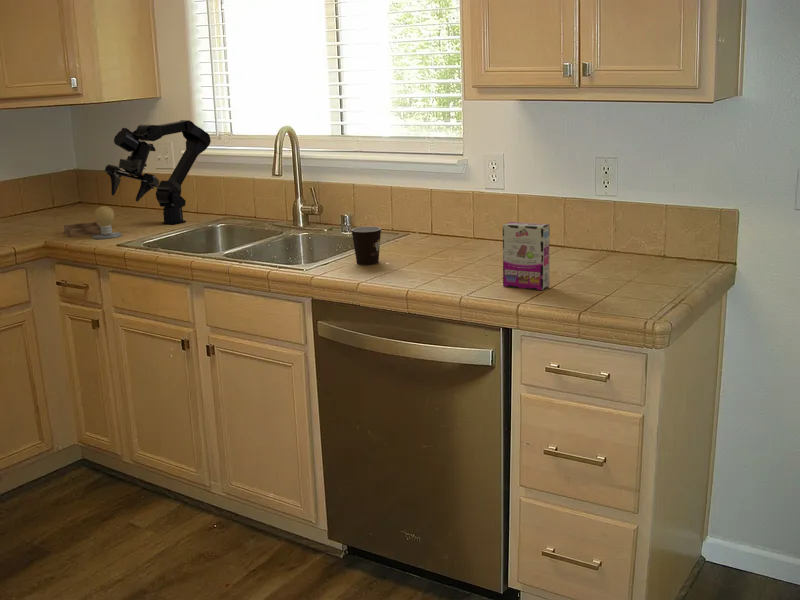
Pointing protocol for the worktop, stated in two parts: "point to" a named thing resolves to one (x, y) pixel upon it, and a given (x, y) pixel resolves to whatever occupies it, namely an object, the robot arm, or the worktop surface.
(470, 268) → the worktop surface
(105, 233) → the light bulb
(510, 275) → the candy bar box
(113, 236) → the slate coaster
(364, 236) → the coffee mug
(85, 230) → the walnut crate
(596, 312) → the worktop surface
